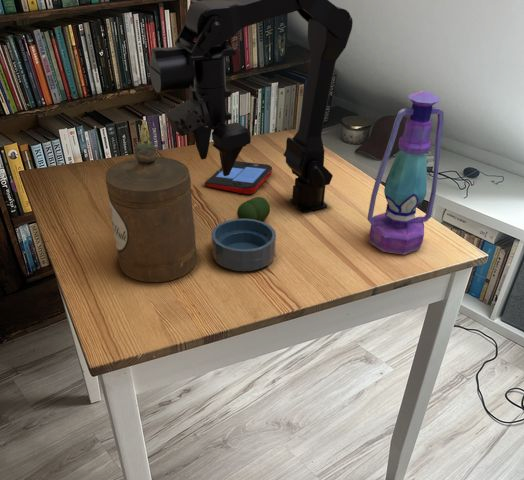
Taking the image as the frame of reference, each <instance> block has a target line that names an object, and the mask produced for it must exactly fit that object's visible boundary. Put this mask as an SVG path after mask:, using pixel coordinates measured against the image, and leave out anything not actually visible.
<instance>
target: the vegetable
mask: <svg viewBox="0 0 524 480" xmlns="http://www.w3.org/2000/svg"><path fill="white" fill-rule="evenodd" d="M139 138H140V140H139V141H138V142H137V143H136V145H135V148H134V158H136V155H137V153H138V152H139V151H140V150H142V149H150V150H151V151H153V152H154V153H155V154H156V155H157V150H156V147H155V145H154V144H153V142H151V141H150V138H151V135H150V132H149V128H148V124H147V123H146V121H145V120H143V119H141V125H140V133H139Z"/></svg>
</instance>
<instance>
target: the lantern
mask: <svg viewBox="0 0 524 480" xmlns="http://www.w3.org/2000/svg"><path fill="white" fill-rule="evenodd" d="M408 100H410V102H411V103H412V104H411V107H407V108H406V107H404V108H402V109H400V110H399V111H398V112H397V114H396V117H395V120H394V122H393V126H392V129H391V133H390V137H389V139H388V143H387V146H386V149H385V151H384V154H383V157H382V160H381V163H380V165H379V169H378V172H377V175H376V178H375V181H374V184H373V188H372V192H371V195H370V196H371V197H370V201H369V207H368V212H367V218H366V219H367V221H368V223H369V224H370V228H369V234H368V235H369V238H368V243H369V244H371V245H372V246H374V247H376V248H377V249H378V250H380V251H381V252H382V253H391V254H399V255H406V254H407V255H408V254H409V253H412V252H416V251H418V250H420V249H421V247H422V244H423V243H424V237H425V223H426V222H428V221H429V220H430V219H431V218H432V215H433V209H434V205H435V198H436V193H437V185H438V177H439V167H440V159H441V150H442V149H441V148H442V136H443V135H442V134H443V130H444V129H443V128H444V116H445V115H444V110H443V109H441V108H439V107H438V106H436V107H435V106H434V105H435V104H438V103H439V102H440V97H439V96H437V95H435V94H434V93H432V92H430V91H428V90H421V91H416V92H414V93H413V92H412V93H410V94H408ZM433 106H434V107H433ZM432 115H437V122H436V132H435V142H434V159H433V160H434V161H433V163H434V164H433V173H432V174H433V175H432V182H431V190H430V196H429V200H428V205H427V209H426V213H425V215H424V216H416V214H417V208H418V206H420V205H421V203H422V202H423V201H424V200H425V198H426V196H427V185H428V184H427V182H428V181H427V180H428V179H427V178H428V177H427V176H428V165H427V164H428V161H427V160H428V159H427V158H428V157H427V153H428V152H430V150H431V149H432V141H431V140H430V136H431V133H432V132H431V131H432V120H431V116H432ZM404 116H409V117H406V120H405V124H404V129H403V133H402V136H400V137H399V138H398V149H399V151H398V152H397V154H396V156H395V157H394V160H393V162H392V164H391V166H390V170H389V172H388V175H387V177H386V179H385V183H384V189H383V192H384V193H383V194H384V197H385V199H386V209H385V212H383V213H380V214H379V213H378V214H376V215H374V211H375V206H376V202H377V201H376V200H377V196H378V193H379V189H380V185H381V182H382V179H383V176H384V173H385V170H386V167H387V163H388V161H389V160H390V156H391V154H392V150H393V147H394V145H395V142H396V139H397V135H398V131H399V128H400V124H401V122H402V119H403V117H404Z"/></svg>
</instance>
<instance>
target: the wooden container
mask: <svg viewBox="0 0 524 480" xmlns="http://www.w3.org/2000/svg"><path fill="white" fill-rule="evenodd" d="M191 182H192V180H191V174H190V169H189V168H188V166H187V165H186V164H185V163H184V162H182V161H179V160H176V159H173V158H170V157H164V156H157V153H156V154H155V153H154V152H153V151H151V150H150V149H142V150H140V151H139V152H138V153H137V155H136V158H135V157H132V158H127V159H124V160H120V161H118V162H116V163H114V164H113V165H111V166H110V167H109V168H108V169H107V170H106V171H105V185H106V190H107V191H106V192H107V194H108V201H109V207H110V208H109V209H110V214H111V222H112V229H113V235H114V241H115V246H116V252H117V257H118V262H119V266H120V269H121V271H122V272H123V273H124V274H125V275H126V276H128V277H129V278H131V279H133V280H136V281H140V282H146V283H163V282H169V281H173V280H176V279H180V278H181V277H184V276H185V275H187V274H188V273H190V272H191V271H192V270H193V269H194V268H195V266H196V265H197V264H196V263H197V259H198V258H197V246H196V245H197V244H196V230H195V219H194V210H193V209H194V208H193V199H192V198H193V197H192V189H191V188H192V185H191V184H192V183H191Z"/></svg>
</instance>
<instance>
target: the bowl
mask: <svg viewBox="0 0 524 480" xmlns="http://www.w3.org/2000/svg"><path fill="white" fill-rule="evenodd" d="M210 237H211V238H210V239H211V255H212V259H213V260H214V261H215V263H216V264H218V265H219V266H221V267H222V268H225V269H228V270H230V271H237V272H250V271H251V272H252V271H256V270H260V269H263V268H265V267H267V266H269V265H270V264H271V263H272V262H273V261H274V260H275V256H276V247H277V246H276V245H277V233H276V230H275V229H274V228H273V227H272V226H271V225H270V224H269V223H266V222H264V221H263V220H261V221H258V220H254V219H238V218H233V219H227V220H225V221H223V222H221V223H218V224H217V225H216V226H214V227H213V229H212V231H211V233H210Z"/></svg>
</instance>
